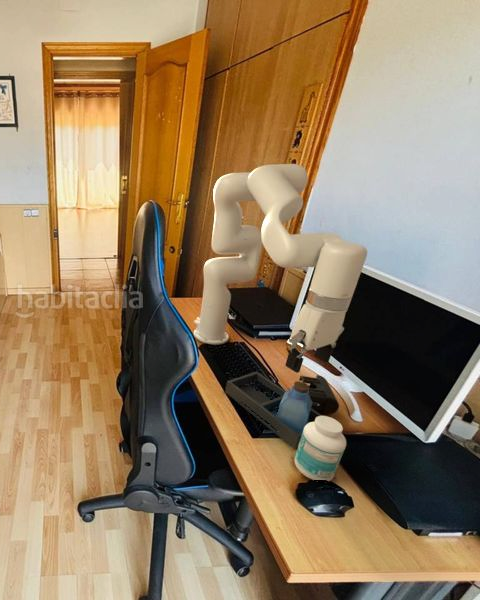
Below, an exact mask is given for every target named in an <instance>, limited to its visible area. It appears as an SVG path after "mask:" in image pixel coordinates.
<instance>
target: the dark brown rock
mask: <svg viewBox="0 0 480 600" xmlns="http://www.w3.org/2000/svg"><path fill="white" fill-rule="evenodd" d="M299 382H303V383H306V384H307V385H308V386H309V389H308V391H309V393H308V395H309V396H310V398H311V400H312V406H311V408H312V409H313V410H315V411H316V412H318V413H319V414H321V415H322V416H330V415H334V414H335V413H337V412H338V411H339V409H340V403H339V401H338V399H337V397H336V395H335V394H334V392H333V390H332V388H331V386H330V384H329V382H328V380H327V379H326V378H325V377H324V376H322V375H320V374H316V376H315V377H312V376H307V375H306V376H305V375H299Z"/></svg>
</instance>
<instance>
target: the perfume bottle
mask: <svg viewBox="0 0 480 600" xmlns="http://www.w3.org/2000/svg"><path fill="white" fill-rule="evenodd" d="M308 385H309V384H308V383H303V381H300V380H299V381H294V383H293V385H292V387H291V388H290V389H288V390H285V391H286V392H285V393H284V395H283V398H282V400H281V403H280V405H279V409H278V412H277V416H276V417H277V418H279V419H280V420H281V421H282V422H284V423H285V424H286V425H288V426H289V427H290V428H292V429H293V430H294V431H296V432H297V433H300V432H302V431H303V430H304V427H305V426H306V423H307V420H308V417H309V413H310V410H311V406H312V400H311V398H310V396H309V395H308V393H309V391H308V389H309V386H308Z"/></svg>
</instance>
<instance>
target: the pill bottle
mask: <svg viewBox="0 0 480 600" xmlns="http://www.w3.org/2000/svg"><path fill="white" fill-rule="evenodd" d="M343 430H344V428H343V425H342V424H341V422H339V420H336V419H335V418H333V417H331V416H328V415H324V416H318V417H316V419H315V422H310V423H308V424H307V425H306V426H305V427H304V430H303V433H302V436H301V439H300V442H299V446H298V448H296V453H295V455H294V459H293V460H294V464H295V467H296V469H297V470H298V471H299V472H300V473H301V474H302V475H303V476H305V477H306V478H308V479H310V480H312V481H314V480H327V481H328V482H330V481H332V480H333V478H335V475H336V473H337V470H338V467H339V464H340V462H341V459H342V457H343V454H344V452H345V450H346V447H347V439H346V437H345V436H344V434H343Z"/></svg>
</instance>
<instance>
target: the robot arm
mask: <svg viewBox="0 0 480 600" xmlns="http://www.w3.org/2000/svg"><path fill="white" fill-rule="evenodd" d="M308 180H309V177H308V173H307V170H306V169H305V168H304V167H303V166H302V165H301V164H298V163H277V164H264V165H261V166H258V167H257V168H254V169H253V170H251V171H250V172H248V171H247V172H246V171H245V172H231V173H227V174H224V175H222V176H221V177H219V179H217V181H216V183H215V185H214V188H213V194H212V195H213V206H214V220H213V228H212V234H211V235H212V237H211V249H212V251H213V253H215V254H217V255H239V256H220V257H214V258H213V257H212V258H211V259H208V260H207V261H206V262H205V263H204V265H203V290H202V302H201V308H200V315H199V316H197V317H196V319H195V320H193V324H194V325H196V328H195V329H194V331H193V336H194V338H195V339H196V340H198V341H199V342H201V343H203V344H208V345H215V346H216V345H217V346H219V345H223V344H226V343H227V342H228V341H229V338H230V337H229V334H228V333H227V332H226V328H227V324H228V323H227V322H228V317H229V312H230V305H231V299H232V294H231V292H230V290H229V289H228V287H227V285H232V284H234V285H235V284H246V283H250V282H252V281H253V280H254V279H255V277H256V275H257V271H258V266H259V261H260V257H261V250H262V245H263V248H264V249H265V251H266V253H267V254H268V256H269V257H270V259H271V260H272V261H273V263H275V264H276V265H277V266H279V267H280V268H284V269H296V268H297V269H300V268H314V272H313V276H312V279H311V282H310V286H309V289H308V293H307V296H306V299H305V303H304V304H303V305H302V307H301V309H300V311H299V313H298V315H297V317H296V320H295V323H294V325H293V327H292V331H291V334H290V337H289V339H288V340H287V341H286V343H285V344H286V351H287V353H288V355H287V357H286V358H287V359H286V361H285V364H284V365H285V368H286V367H287V368H288V369H289V370H291V371H293V372H295V373H296V374H297V373H300V372H301V369H302V365H303V362H304V357H303V356H305V354H306V353H307V352H308V351H312V350H315V351H314V353H313V356H314V357H315V358H317V359H318V360H320V361H322V362H324V363H329V362H330V359H331V356H332V354H333V350H334V348H336V346H337V341H338V340H340V339H341V334H342V333H343V332H344V330H345V327H344V326H343V325H344V321H345V317H346V313H347V312H348V309H349V307H350V304H351V301H352V299H353V295H354V293H355V290H356V288H357V285H358V281H359V279H360V276H361V274H362V270H363V268H364V265H365V263H366V260H367V256H368V249H367V248H366V247H365V246H364V245H362V244H359V243H355V242H352V241H351V242H350V241H347V240H345V239H344V238H342V237H341V236H339V235H337V234H335V233H330V232H319V233H318V232H317V233H294V234H293V233H292V234H291V233H290V232H289V231H288V230H287V229H286V227H285V225H284V223H287V222H288V221H290V220H292V219H293V218H294V217H295V216H297V215H298V214H299V213H300V211H301V210H302V209H303V206H304V199H303V197H302V195H301V193H302V192H303V191H304V190H305V189H306V188H307V185H308V182H309V181H308ZM241 202H256V204H258V206H259V208H260V210H261V211H262V213H263V214H264V216H265V217H264V219H263V221H262V223H261V224H262V225H261V229H260V228H259V227H258V226H255V225H250V224H247V225H246V224H245V225H242V221H243V218H244V217H243V216H244V215H243V214H244V213H243V209H242V206H241V204H240V203H241ZM301 342H302V343H301ZM303 343H304V344H303ZM298 347H300V348H301V350H300V351H299V350H298V349H297V348H298Z"/></svg>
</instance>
